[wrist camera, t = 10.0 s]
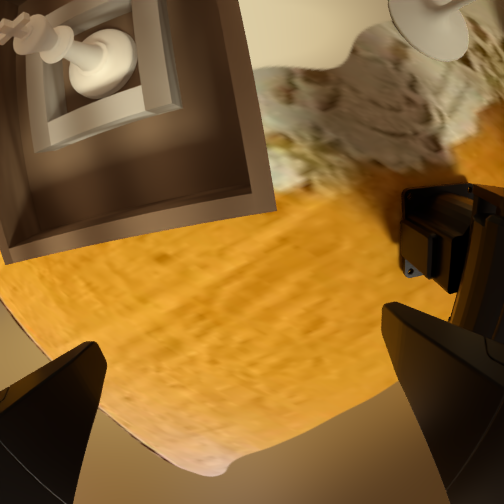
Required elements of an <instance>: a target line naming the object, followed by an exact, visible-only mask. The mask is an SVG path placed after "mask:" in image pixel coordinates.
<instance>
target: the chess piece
mask: <svg viewBox="0 0 504 504" xmlns="http://www.w3.org/2000/svg"><path fill="white" fill-rule="evenodd" d="M12 36H13V37H14V40H13V48H14V51H15V52H16V53H17V54H19V55H27V54H31V53H35V52H40V57H41V58H42V60H43V61H44V62H46V63H49V64H52V63H56V62H58V61H60V60H61V59H62V58H65V59H67V60H68V61H70V66H69V79H70V82H71V85H72V86H73V88H74V89H75V90H76V91H77V92H78V93H79V94H81V95H83V96H85V97H87V98H91V99H101V98H105V97H108V96H110V95H112V94H114V93H116V92H117V91H118V90H120V89H121V88H122V87H123V86H124V85H125V84H126V83H127V81H128V80H129V79H130V77H131V76H132V74H133V72H134V70H135V67H136V64H137V51H136V44H135V42H134V40H133V39H132V37H131V36H130V35H128V34H127V33H125V32H122V31H120V30H116V29H104V30H100V31H97V32H95V33H93V34H92V35H90V36H88V37H87V38H86V39H85V40H84V41H83V42H79V41H75V40H74V32H73V30H72V28H71V27H69V26H65V25H64V26H57V27H55V28H52V27H51V26H50V24H49V22H48V20H47V19H46V18H45V17H44V16H43V15H41V14H36V15H32V16H30V15H29V14H28V13H25V12H23V13H21V14H20V15H19V16H18V17H17V18H16V19H15V20H13V21H11V20H8V19H5V18H3V19H2V20H1V21H0V45H4V44H5V43H6V42H7V41H8V40H9V39H10V38H11V37H12Z"/></svg>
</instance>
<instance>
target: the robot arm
mask: <svg viewBox="0 0 504 504" xmlns="http://www.w3.org/2000/svg"><path fill="white" fill-rule="evenodd" d="M468 187H469V191H467V190H468ZM409 193H411V197H410V198H409V199H408V198H407V195H408V194H409ZM402 214H403V219H402V220H401V222H400V224H401V255H402V256H403V273H404V275H405V276H406V277H408V278H412V277H416V276H421V275H424V276H425V277H426V278H427V279H433V280H434V281H435V282H437V283H438V284H439V285H440V286H441V287H442V288H443V289H444V290H445V291H446V292H447V293H449V294H452V293H456V292H457V295H456V299H455V302H454V306H453V310H452V313H451V317H449V319H448V322H447V321H444V320H442V319H439V318H437V317H434V316H431V315H429V314H426V313H424V312H421V311H419V310H416V309H414V308H411V307H409V306H406V305H404V304H401V303H399V302H390V303H386V304H384V305H383V307H382V322H381V331H382V335H383V338H384V341H385V344H386V347H387V349H388V352H389V355H390V358H391V361H392V364H393V367H394V370H395V373H396V375H397V377H398V380H399V382H400V384H401V386H402V388H403V390H404V392H405V395H406V397H407V399H408V401H409V403H410V405H411V407H412V410H413V412H414V414H415V416H416V419H417V421H418V423H419V425H420V428H421V430H422V432H423V435H424V437H425V439H426V442H427V444H428V446H429V449H430V451H431V454H432V456H433V459H434V461H435V464H436V466H437V468H438V471H439V474H440V476H441V479H442V481H443V484H444V487H445V490H446V491H447V492H446V493H447V496H448V498H449V501H450V504H504V188H502V187H495V186H488V185H480V184H471V183H467V182H465V183H454V184H443V185H433V186H423V187H414V188H407V189H405V190H404V191H403V192H402ZM409 269H411V271H410V272H409V273H408V270H409ZM106 370H107V362H106V359H105V357H104V355H103V353H102V351H101V349H100V347H99V345H98V344H97V343H96V342H95V341H86V342H84V343H82V344H80V345H78V346H77V347H75V348H73V349H72V350H70V351H68V352H66V353H65V354H63V355H61V356H60V357H58V358H56V359H55V360H53V361H51V362H49V363H48V364H46V365H44V366H43V367H41V368H39V369H38V370H36V371H35V372H32V373H31V374H29V375H27V376H26V377H24V378H22V379H21V380H19V381H17V382H16V383H14V384H12V385H10V387H7V388H5V389H4V390H2V391H0V504H73V501H74V496H75V492H76V487H77V483H78V479H79V474H80V470H81V466H82V462H83V458H84V454H85V451H86V447H87V443H88V440H89V436H90V433H91V429H92V425H93V423H94V419H95V416H96V413H97V409H98V406H99V402H100V397H101V393H102V388H103V383H104V379H105V374H106Z"/></svg>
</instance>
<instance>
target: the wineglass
mask: <svg viewBox="0 0 504 504" xmlns="http://www.w3.org/2000/svg"><path fill="white" fill-rule="evenodd" d="M474 1H476V0H388V8H389V12H390V15H391V18H392V20H393V22H394V24H395V26H396V27H397V29H398V30H399V32H400V33H401V35H402V36H403V37H404V38H405V39H406V40H407V41H408V42H409V44H410V45H412V46H413V47H414V48H415V49H417V50H418V51H419V52H420V53H422V54H424V55H426V56H428V57H429V58H432V59H435V60H438V61H445V62H449V61H453V60H457V59H459V58H460V57H462V56H463V55H464V53H465V52H466V50H467V48H468V43H469V33H468V29H467V25H466V22H465V20H464V18H463V16H462V14H461V12H460V11H459V9H460V8H462V7H464V6H466V5H468V4H470V3H472V2H474Z"/></svg>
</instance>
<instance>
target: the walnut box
mask: <svg viewBox="0 0 504 504" xmlns="http://www.w3.org/2000/svg"><path fill="white" fill-rule="evenodd" d="M23 12H25V13H28V14H29V15H30V16H32V15H36V14H41V15H43V16H44V17H45V18H46V19H47V20H48V22H49V24H50V26H51V27H52V28H55V27H57V26H64V25H65V26H69V27H71V28H72V30H73V32H74V40H75V41H79V42H83V41H84V40H85V39H86V38H87V37H88V36H90V35H92V34H93V33H95V32H97V31H100V30H104V29H116V30H120V31H122V32H125V33H127V34H128V35H130V36H131V37H132V39H133V40H134V42H135V44H136V51H137V64H136V67H135V70H134V72H133V74H132V76H131V77H130V79H129V80H128V81H127V83H126V84H125V85H124V86H123V87H122V88H121V89H120V90H118V91H117V92H116V93H114V94H112V95H110V96H108V97H105V98H101V99H91V98H87V97H85V96H83V95H81V94H79V93H78V92H77V91H76V90H75V89H74V88H73V86H72V85H71V82H70V79H69V66H70V61H68V60H67V59H65V58H62V59H61V60H60V61H58V62H56V63H52V64H49V63H46V62H44V61H43V60H42V58H41V57H40V52H35V53H31V54H27V55H19V54H17V53H16V52H15V51H14V48H13V40H14V37H13V36H12V37H11V38H10V39H9V40H8V41H7V42H6V43H5V44H4V45H0V250H1V254H2V257H3V260H4V262H5V265H8V264H12V263H16V262H20V261H24V260H28V259H32V258H37V257H41V256H45V255H49V254H54V253H58V252H63V251H67V250H71V249H76V248H81V247H85V246H90V245H94V244H99V243H104V242H109V241H113V240H118V239H123V238H128V237H133V236H138V235H143V234H148V233H153V232H158V231H164V230H169V229H174V228H180V227H185V226H190V225H196V224H201V223H207V222H213V221H218V220H224V219H230V218H236V217H242V216H248V215H254V214H260V213H266V212H273V211H277V208H276V202H275V196H274V190H273V183H272V177H271V171H270V165H269V159H268V153H267V147H266V142H265V136H264V130H263V125H262V119H261V113H260V108H259V102H258V97H257V92H256V86H255V81H254V76H253V71H252V65H251V61H250V56H249V50H248V45H247V40H246V35H245V31H244V27H243V21H242V16H241V12H240V7H239V2H238V0H0V21H1V20H2V19H3V18H5V19H8V20H11V21H13V20H15V19H16V18H17V17H18V16H19V15H20V14H21V13H23Z"/></svg>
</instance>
